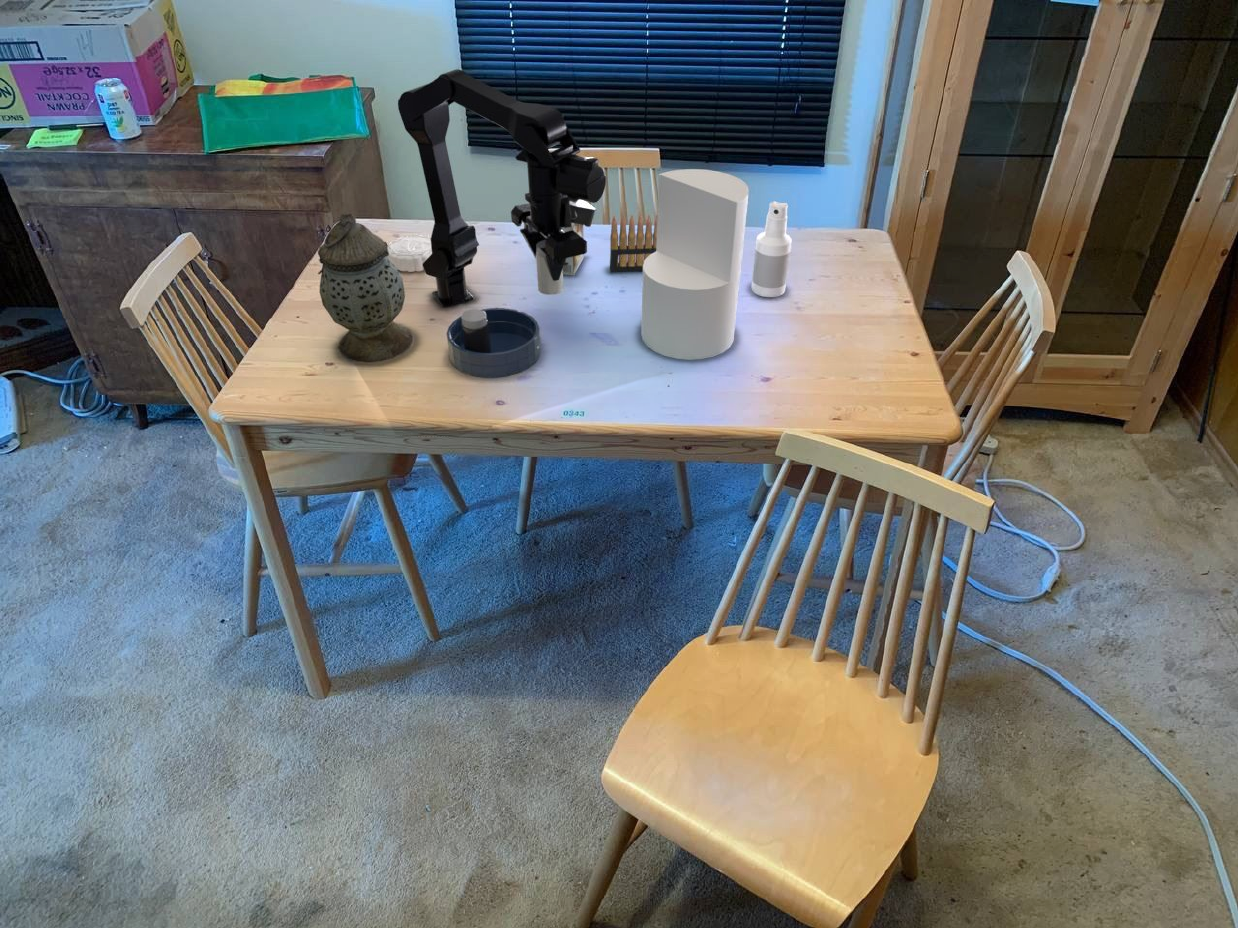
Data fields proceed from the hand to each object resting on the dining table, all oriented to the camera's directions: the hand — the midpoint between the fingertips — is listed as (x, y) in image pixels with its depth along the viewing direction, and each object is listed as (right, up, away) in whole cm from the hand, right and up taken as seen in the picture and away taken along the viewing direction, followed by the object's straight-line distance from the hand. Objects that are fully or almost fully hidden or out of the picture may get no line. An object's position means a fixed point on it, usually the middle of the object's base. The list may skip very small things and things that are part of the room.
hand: (550, 274), depth 152 cm
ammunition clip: (+16, +7, +27) cm, 32 cm away
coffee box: (+1, +8, +28) cm, 30 cm away
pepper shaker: (-13, -15, -1) cm, 20 cm away
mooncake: (-31, +10, +30) cm, 45 cm away
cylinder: (+25, -10, +6) cm, 28 cm away
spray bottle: (+43, +1, +20) cm, 47 cm away
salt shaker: (0, -2, +2) cm, 3 cm away
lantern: (-32, -12, +3) cm, 35 cm away
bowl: (-10, -14, 0) cm, 17 cm away
